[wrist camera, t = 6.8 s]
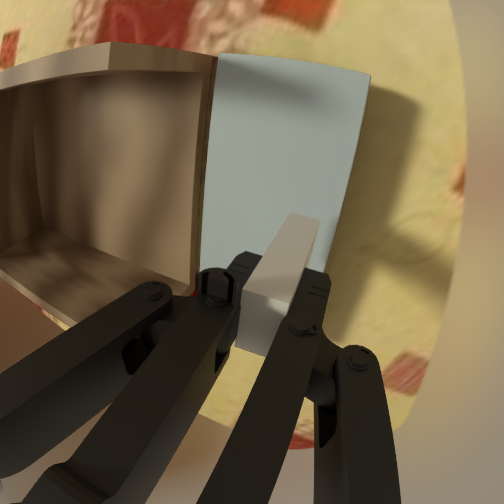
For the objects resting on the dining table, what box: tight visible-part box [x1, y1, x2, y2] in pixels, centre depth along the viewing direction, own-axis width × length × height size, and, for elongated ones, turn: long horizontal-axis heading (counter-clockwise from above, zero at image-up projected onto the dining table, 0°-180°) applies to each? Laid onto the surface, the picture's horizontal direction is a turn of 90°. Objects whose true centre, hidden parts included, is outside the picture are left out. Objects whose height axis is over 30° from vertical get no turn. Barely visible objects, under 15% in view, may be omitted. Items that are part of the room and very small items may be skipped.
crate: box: [0, 42, 213, 327], centre depth 19 cm, size 20×18×9 cm
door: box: [200, 53, 371, 273], centre depth 18 cm, size 1×18×8 cm
